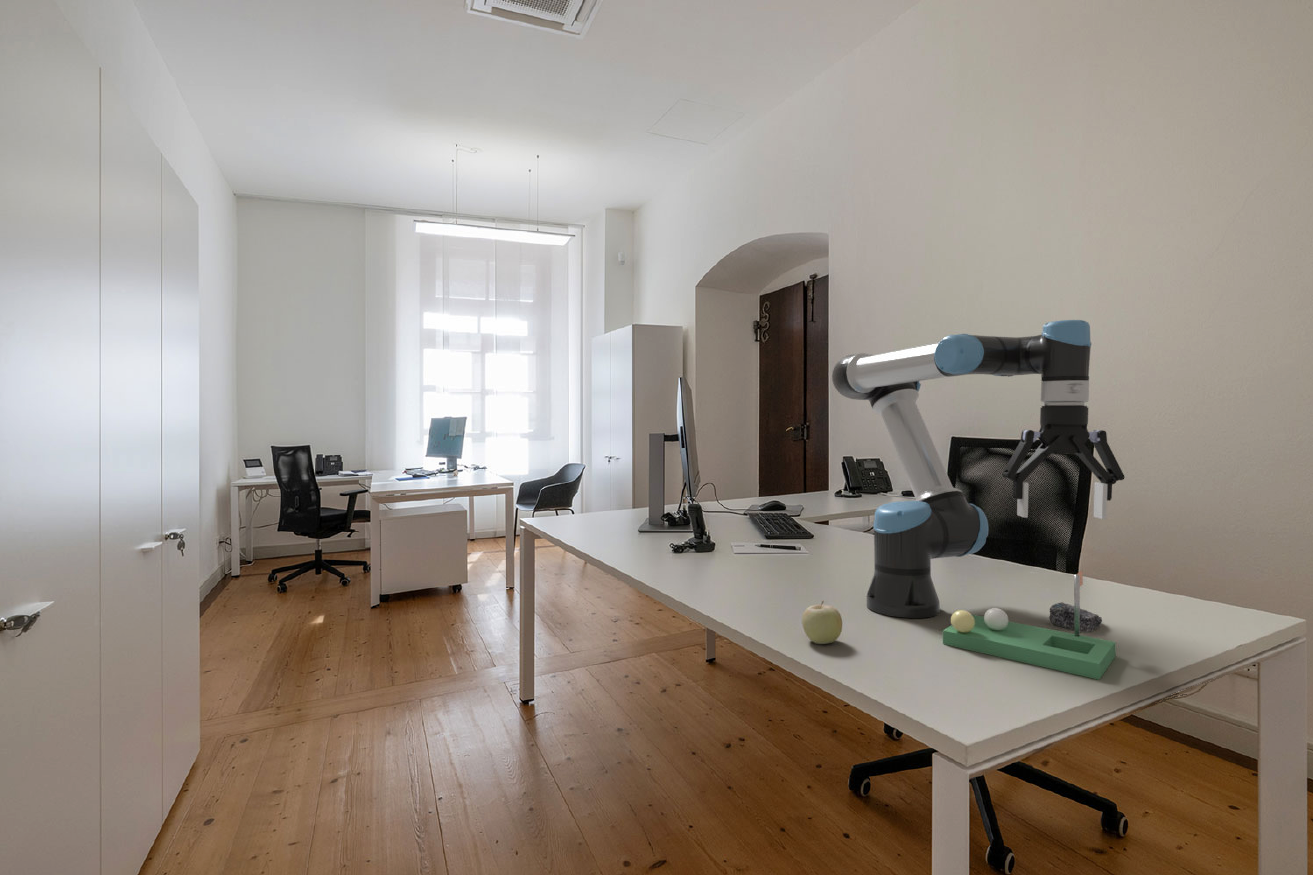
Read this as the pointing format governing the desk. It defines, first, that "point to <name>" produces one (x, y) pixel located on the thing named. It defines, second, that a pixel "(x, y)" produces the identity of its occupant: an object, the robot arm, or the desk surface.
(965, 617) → the ball
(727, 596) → the desk surface
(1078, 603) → the pin
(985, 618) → the ball
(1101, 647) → the green board with hole
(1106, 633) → the desk surface
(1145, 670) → the desk surface
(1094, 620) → the rock
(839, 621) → the fruit
